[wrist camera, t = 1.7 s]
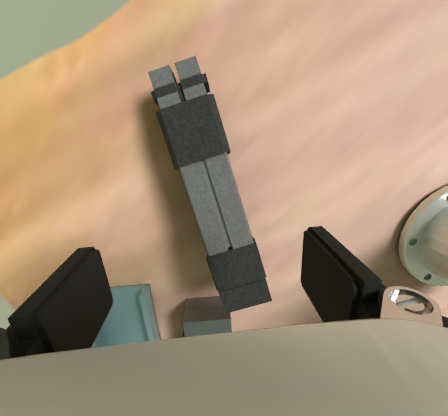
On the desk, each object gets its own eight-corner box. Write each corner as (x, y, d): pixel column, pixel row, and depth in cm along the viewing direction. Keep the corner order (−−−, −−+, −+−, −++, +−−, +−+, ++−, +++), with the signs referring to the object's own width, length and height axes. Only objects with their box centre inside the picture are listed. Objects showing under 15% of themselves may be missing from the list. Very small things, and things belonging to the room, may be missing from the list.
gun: (227, 285, 27) (221, 334, 17) (176, 120, 27) (141, 71, 17) (265, 275, 27) (281, 318, 17) (214, 107, 27) (200, 50, 17)
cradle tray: (149, 284, 27) (144, 296, 25) (166, 364, 31) (163, 380, 29) (85, 289, 26) (75, 302, 25) (111, 369, 31) (105, 385, 29)
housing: (228, 295, 28) (230, 318, 24) (232, 356, 31) (235, 383, 28) (182, 299, 28) (178, 323, 24) (192, 359, 31) (189, 387, 28)
